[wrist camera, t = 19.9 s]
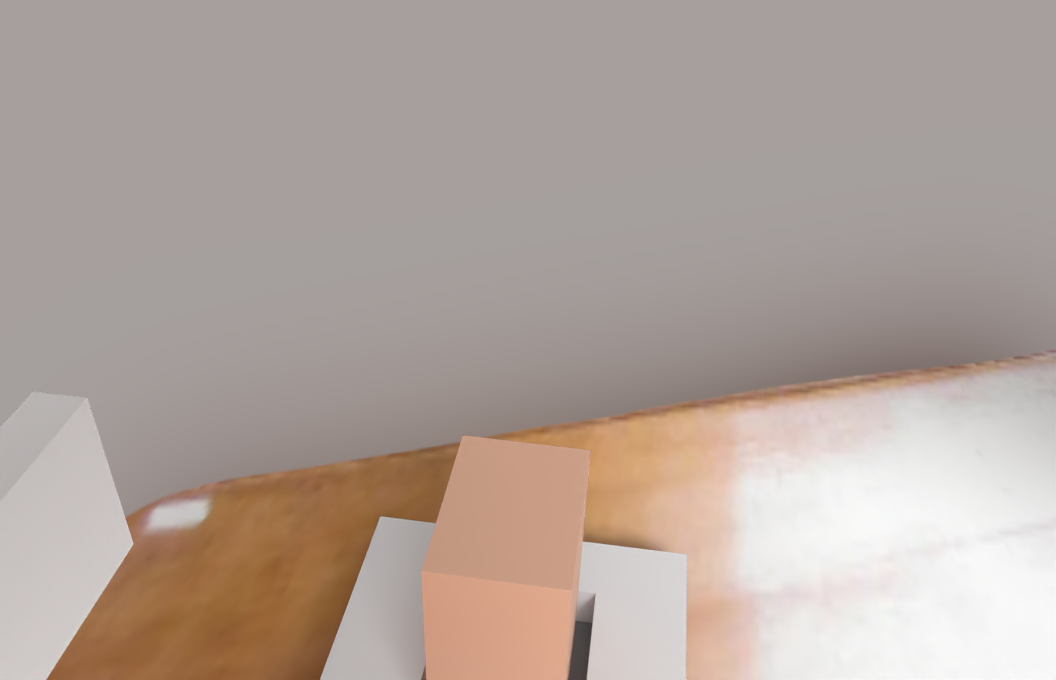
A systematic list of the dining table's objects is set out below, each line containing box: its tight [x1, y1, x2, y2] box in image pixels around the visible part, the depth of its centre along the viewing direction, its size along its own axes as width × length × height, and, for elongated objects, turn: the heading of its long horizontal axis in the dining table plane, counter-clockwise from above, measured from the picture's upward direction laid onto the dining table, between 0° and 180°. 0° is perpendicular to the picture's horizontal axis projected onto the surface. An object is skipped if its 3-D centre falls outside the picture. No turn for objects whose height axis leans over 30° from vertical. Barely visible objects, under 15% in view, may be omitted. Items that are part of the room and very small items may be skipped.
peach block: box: [421, 435, 591, 680], centre depth 38 cm, size 5×7×11 cm
